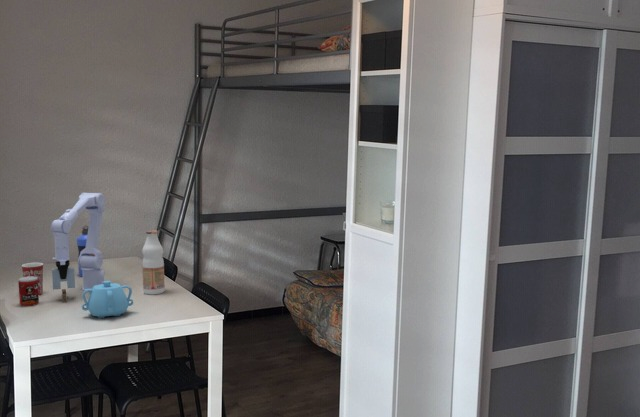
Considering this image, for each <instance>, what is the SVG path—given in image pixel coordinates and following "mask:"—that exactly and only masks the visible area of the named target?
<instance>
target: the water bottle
mask: <svg viewBox="0 0 640 417" xmlns="http://www.w3.org/2000/svg"><path fill="white" fill-rule="evenodd" d="M88 227H89V225H84V226H82V227H81V229H82V230H81V234H82V235H80V236H78V237H76V245H77V251H78V254H77V255H78V256H77V259H78V258H79V256H80V252H81V251H82V250H83V249H85V248H86V242H87V234H88ZM77 266H78V267H77V268H78V277H79V278H83V273H82V270H81V268H80V267H79V265H78V264H77Z"/></svg>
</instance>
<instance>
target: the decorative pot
mask: <svg viewBox="0 0 640 417" xmlns="http://www.w3.org/2000/svg"><path fill="white" fill-rule="evenodd" d="M124 289H128V295H127V294H126V293H125V290H124ZM87 292H90V293H89V295H88V299H86V298H87V297H86V293H87ZM132 293H133V289H132V287H131V286H130V285H127V284H123V285H121V284H120V283H116V282H115V283H114V282H113V283H112V280H104V281H103V284H100V285H95V286H93V288H92V289H86V290H85V291H83V292H82V294H81V297H82V300H83V302H84V303H83V304H81V309H82V311H88V312H89V313H90V314H91V315H92V316H94V317H97V318H98V319H103V318H105V317H110V316H114V317H121V316H122V315H123V314H124V313H126V311H127V310H128V308H129V307H131V306H132V305H134V300H133V298H132V295H133V294H132ZM131 298H132V299H131ZM85 306H86V307H85Z"/></svg>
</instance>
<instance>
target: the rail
mask: <svg viewBox="0 0 640 417" xmlns="http://www.w3.org/2000/svg"><path fill="white" fill-rule="evenodd" d="M61 292H62V293H61V297H62V303H68V301H67V298H68V297H67V289H66V288H64V289H61Z"/></svg>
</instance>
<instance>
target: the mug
mask: <svg viewBox="0 0 640 417" xmlns="http://www.w3.org/2000/svg"><path fill="white" fill-rule="evenodd" d="M21 269H22V277H29V276H34V277H37V278H38V291H39V296H41V295H42V294H43V292H44V289H43V286H44V285H43V284H44V263H43V262H28V263H23V264H22V265H21Z"/></svg>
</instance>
